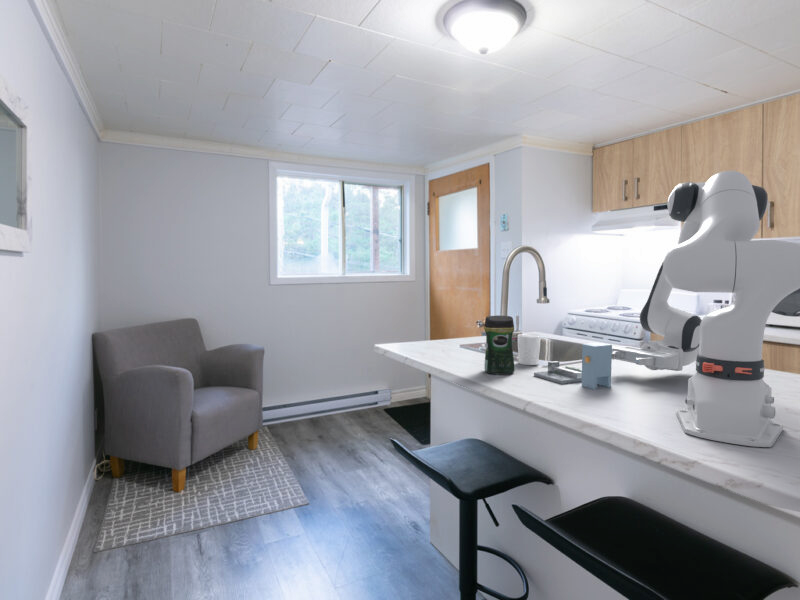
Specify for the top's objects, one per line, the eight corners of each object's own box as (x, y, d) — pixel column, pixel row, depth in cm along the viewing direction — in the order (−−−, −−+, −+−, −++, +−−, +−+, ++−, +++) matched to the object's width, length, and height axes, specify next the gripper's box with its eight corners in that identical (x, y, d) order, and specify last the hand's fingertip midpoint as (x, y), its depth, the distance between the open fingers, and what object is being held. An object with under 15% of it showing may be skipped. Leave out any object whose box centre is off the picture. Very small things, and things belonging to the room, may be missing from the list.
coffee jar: (512, 369, 155) (512, 314, 154) (515, 375, 147) (516, 316, 146) (483, 369, 156) (483, 314, 155) (485, 374, 148) (485, 316, 147)
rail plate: (597, 379, 141) (597, 366, 141) (561, 384, 135) (562, 370, 135) (567, 371, 152) (568, 359, 152) (534, 375, 146) (534, 363, 146)
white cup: (544, 363, 166) (544, 335, 165) (533, 366, 160) (534, 337, 159) (524, 360, 171) (524, 333, 170) (513, 363, 165) (513, 335, 165)
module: (611, 386, 132) (611, 344, 131) (592, 389, 129) (593, 346, 128) (598, 383, 136) (599, 342, 135) (580, 386, 133) (580, 344, 132)
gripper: (626, 340, 151) (595, 343, 146) (688, 349, 133) (655, 353, 127) (626, 359, 152) (595, 363, 146) (687, 371, 133) (654, 376, 127)
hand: (623, 358), depth 136 cm, fingers open, 8 cm apart
